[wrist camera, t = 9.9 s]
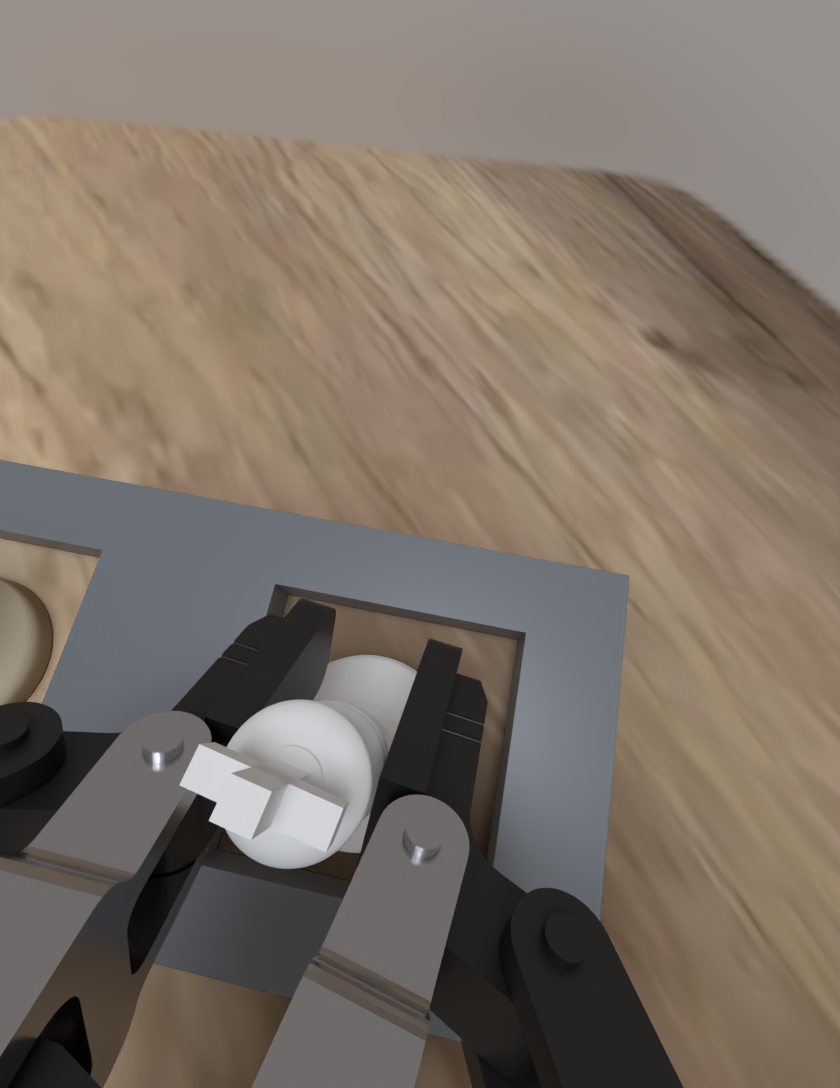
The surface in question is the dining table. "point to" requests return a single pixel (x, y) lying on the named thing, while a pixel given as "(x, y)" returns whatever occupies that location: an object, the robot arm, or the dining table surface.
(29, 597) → the pawn
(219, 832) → the grey chess piece holder
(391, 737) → the chess piece
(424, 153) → the dining table surface
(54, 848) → the robot arm
